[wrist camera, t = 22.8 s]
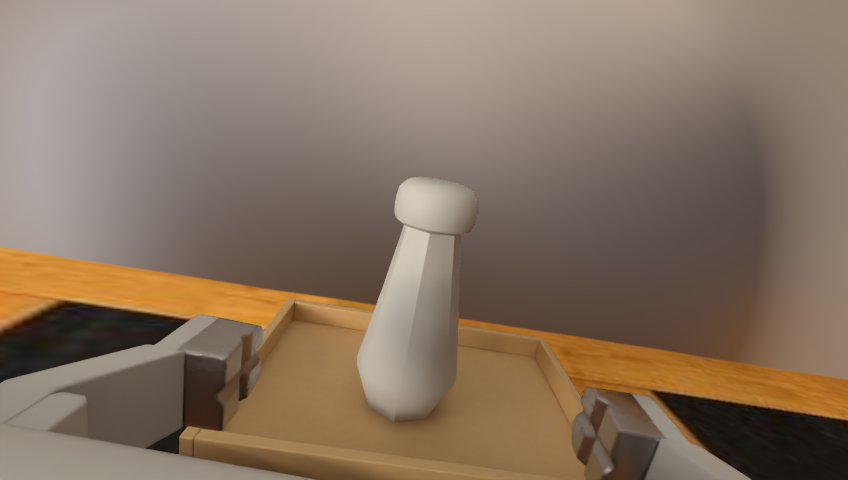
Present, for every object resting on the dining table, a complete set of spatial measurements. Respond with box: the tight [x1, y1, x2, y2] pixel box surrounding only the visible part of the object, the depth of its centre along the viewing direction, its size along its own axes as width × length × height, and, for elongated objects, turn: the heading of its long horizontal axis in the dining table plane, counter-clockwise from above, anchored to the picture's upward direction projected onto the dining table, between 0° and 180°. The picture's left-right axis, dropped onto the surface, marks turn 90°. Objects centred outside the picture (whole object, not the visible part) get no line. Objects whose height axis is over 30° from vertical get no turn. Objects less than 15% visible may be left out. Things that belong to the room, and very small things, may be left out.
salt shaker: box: [357, 177, 478, 422], centre depth 21 cm, size 6×6×13 cm
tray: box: [179, 298, 586, 480], centre depth 24 cm, size 20×14×2 cm
